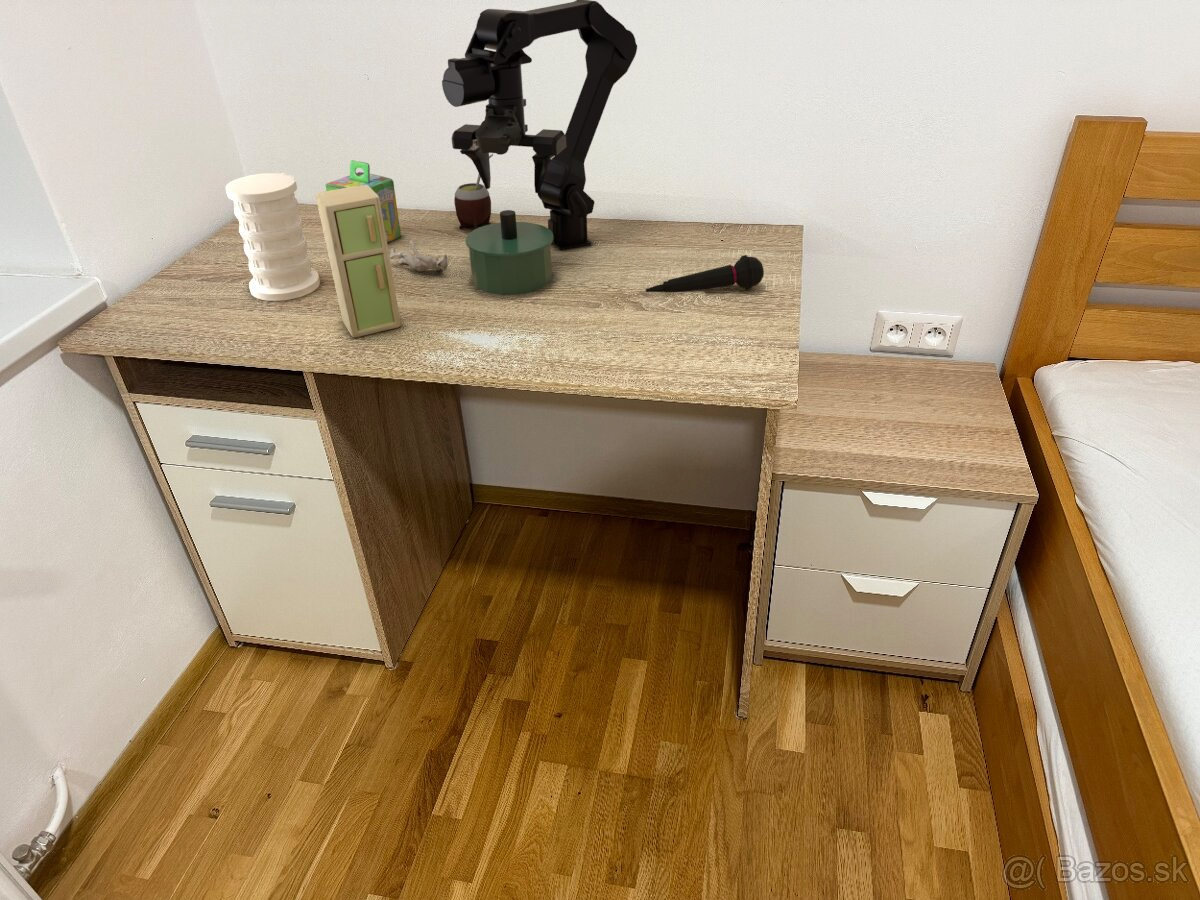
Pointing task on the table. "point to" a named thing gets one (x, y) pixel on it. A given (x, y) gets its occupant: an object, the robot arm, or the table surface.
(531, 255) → the tin
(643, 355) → the table surface
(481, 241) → the lid
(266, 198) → the decorative container
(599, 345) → the table surface
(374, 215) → the toy refrigerator
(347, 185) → the chalk box
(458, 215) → the mate gourd
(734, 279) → the microphone
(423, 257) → the soldier figure
